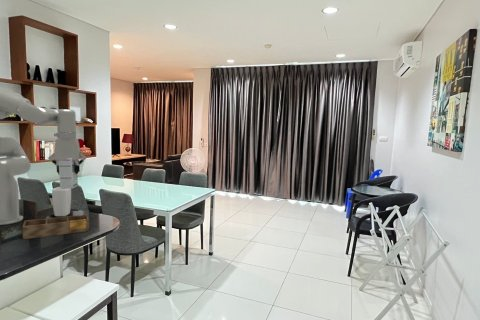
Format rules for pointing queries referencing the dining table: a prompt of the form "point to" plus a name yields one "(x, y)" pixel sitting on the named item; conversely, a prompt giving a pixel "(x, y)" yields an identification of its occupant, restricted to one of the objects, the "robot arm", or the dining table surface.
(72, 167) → the syrup box
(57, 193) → the cup
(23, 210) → the dining table surface
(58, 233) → the rack
